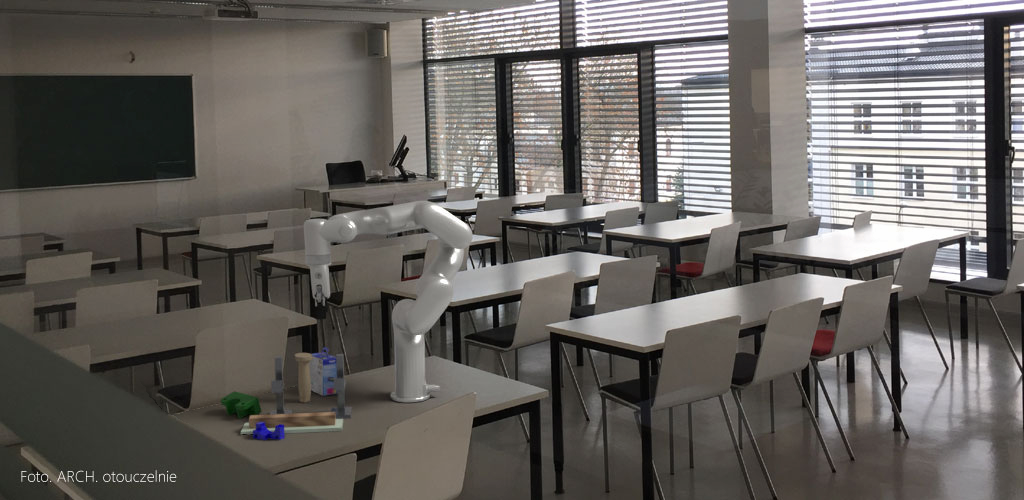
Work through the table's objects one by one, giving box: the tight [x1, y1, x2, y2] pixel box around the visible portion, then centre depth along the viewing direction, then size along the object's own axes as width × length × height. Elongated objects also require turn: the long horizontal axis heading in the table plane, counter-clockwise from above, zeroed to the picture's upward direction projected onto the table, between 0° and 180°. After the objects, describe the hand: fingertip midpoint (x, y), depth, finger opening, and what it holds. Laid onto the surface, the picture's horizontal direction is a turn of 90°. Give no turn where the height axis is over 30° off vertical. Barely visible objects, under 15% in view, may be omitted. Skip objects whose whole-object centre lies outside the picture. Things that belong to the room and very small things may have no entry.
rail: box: [248, 411, 336, 429], centre depth 271 cm, size 24×3×3 cm, turn 97°
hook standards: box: [269, 353, 353, 419], centre depth 281 cm, size 24×9×18 cm, turn 97°
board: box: [240, 418, 344, 435], centre depth 271 cm, size 28×8×1 cm, turn 97°
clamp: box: [220, 390, 262, 419], centre depth 284 cm, size 12×6×9 cm, turn 47°
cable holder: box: [252, 422, 286, 441], centre depth 263 cm, size 8×4×4 cm, turn 69°
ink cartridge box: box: [309, 346, 337, 397], centre depth 307 cm, size 10×6×14 cm, turn 38°
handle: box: [294, 352, 313, 403], centre depth 296 cm, size 5×6×15 cm
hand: (321, 315), depth 286 cm, fingers open, 9 cm apart
